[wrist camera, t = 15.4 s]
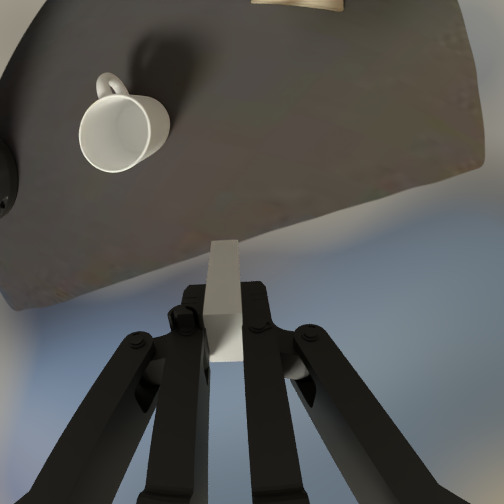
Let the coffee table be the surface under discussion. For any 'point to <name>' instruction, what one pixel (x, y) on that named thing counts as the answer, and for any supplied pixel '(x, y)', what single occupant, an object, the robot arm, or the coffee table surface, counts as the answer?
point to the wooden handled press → (308, 3)
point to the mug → (121, 127)
